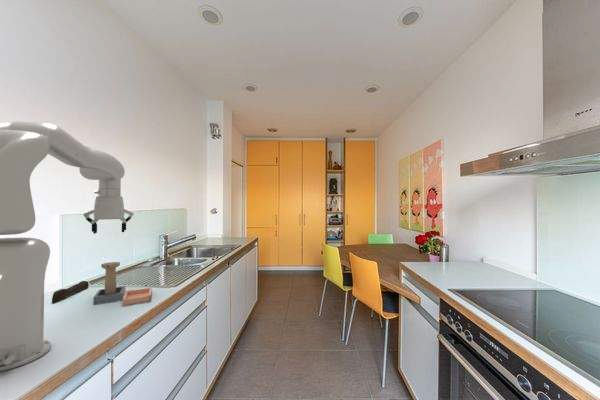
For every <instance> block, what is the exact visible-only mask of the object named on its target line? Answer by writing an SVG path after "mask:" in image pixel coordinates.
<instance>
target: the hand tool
mask: <svg viewBox="0 0 600 400" xmlns="http://www.w3.org/2000/svg"><path fill="white" fill-rule="evenodd" d="M89 284H90V283H89V281H86V280H82V281H80V282H78V283H76V284H73V285H70V287H67V288H61V289H60V288H59V290H56V291H54V292H53V294H52V297H51V304H56V303H59V302H62V301H64V300H66V299H67V297H69V296H72V295H74V294H76V293H78V292H80V291H84V290H86V289H88V288H89V287H90V286H89Z"/></svg>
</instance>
